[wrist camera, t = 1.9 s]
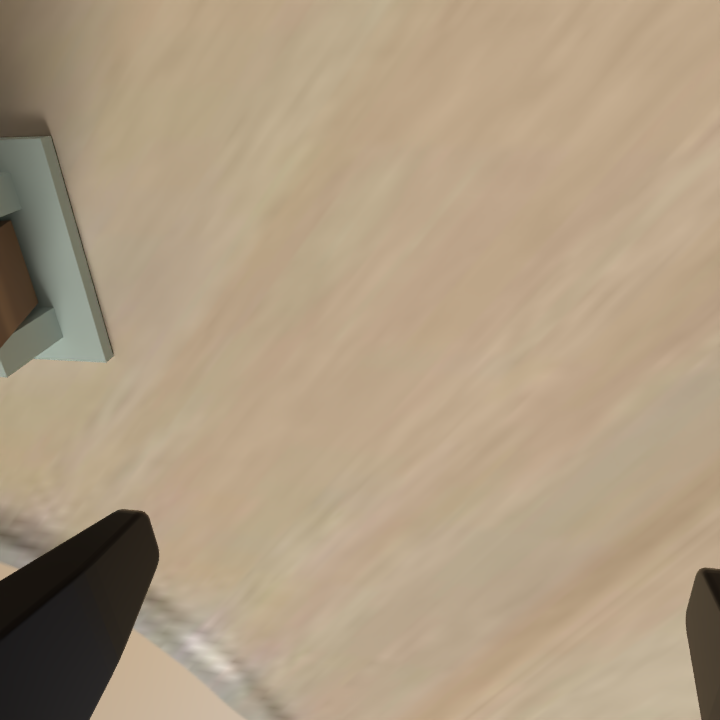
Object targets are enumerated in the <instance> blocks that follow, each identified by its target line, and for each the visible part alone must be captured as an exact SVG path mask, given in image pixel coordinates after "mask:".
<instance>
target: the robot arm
mask: <svg viewBox="0 0 720 720" xmlns="http://www.w3.org/2000/svg"><path fill="white" fill-rule="evenodd" d="M158 561H159V549H158V545H157V542H156V538H155V535H154V532H153V529H152V525H151V522H150V519H149V517H148V515H147V514H146V513H145V512H143V511H137V510H127V509H121V510H117V511H115V512H113V513H112V514H110V515H108V516H107V517H105V518H104V519H102V520H100V521H99V522H97V523H95V524H94V525H92V526H90V527H89V528H87V529H85V530H84V531H82V532H80V533H79V534H77V535H75V536H74V537H72V538H70V539H69V540H67V541H65V542H64V543H62V544H60V545H59V546H57V547H56V548H54V549H52V550H51V551H49V552H47V553H46V554H44V555H42V556H41V557H39V558H37V559H36V560H34V561H32V562H31V563H29V564H27V565H26V566H24V567H22V568H21V569H19V570H17V571H16V572H14V573H13V574H11V575H9V576H8V577H6V578H4V579H3V580H1V581H0V720H89V719H90V717H91V716H92V714H93V712H94V710H95V708H96V706H97V704H98V702H99V700H100V698H101V696H102V694H103V692H104V690H105V688H106V686H107V684H108V682H109V680H110V678H111V677H112V675H113V672H114V670H115V668H116V666H117V664H118V662H119V660H120V658H121V655H122V653H123V651H124V649H125V646H126V644H127V641H128V639H129V636H130V634H131V631H132V629H133V626H134V624H135V621H136V619H137V616H138V614H139V611H140V609H141V606H142V604H143V601H144V598H145V596H146V593H147V591H148V588H149V586H150V583H151V581H152V578H153V576H154V573H155V571H156V568H157V565H158ZM686 631H687V637H688V643H689V649H690V655H691V661H692V666H693V672H694V678H695V684H696V690H697V696H698V702H699V708H700V713H701V719H702V720H720V569H714V568H701V569H700V570H699V571H698V572H697V574H696V577H695V581H694V584H693V588H692V592H691V596H690V599H689V603H688V607H687V611H686Z"/></svg>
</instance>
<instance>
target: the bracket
mask: <svg viewBox="0 0 720 720" xmlns="http://www.w3.org/2000/svg"><path fill="white" fill-rule="evenodd" d="M4 220H11V222H12V225H13V228H14V231H15V234H16V237H17V240H18V243H19V246H20V249H21V252H22V255H23V258H24V261H25V264H26V267H27V270H28V273H29V276H30V279H31V282H32V285H33V288H34V291H35V294H36V297H37V300H38V304H37V305H36V306H35V307H34V309H33V310H32V311H31V312H30V313H29V315H28V316H27V317H26V318H25V319H24V321H23V322H22V323H21V324H20V325H19V327H18V328H17V329H16V330H15V331H14V333H13V334H12V335H11V336H10V337H9V339H8V340H7V341H6V342H5V343H4V345H3V346H2V347H1V348H0V377H8V376H10V375H11V374H13V373H14V372H15V371H17V370H18V369H20V368H21V367H22V366H24V365H25V364H27V363H28V362H29V361H31V360H32V359H48V360H67V361H86V362H105V363H106V362H107V361H109V360H110V359H111V358H112V357H113V353H112V349H111V346H110V342H109V339H108V335H107V332H106V328H105V325H104V321H103V318H102V314H101V311H100V307H99V304H98V300H97V297H96V293H95V290H94V286H93V283H92V279H91V276H90V272H89V269H88V265H87V262H86V258H85V255H84V251H83V247H82V244H81V240H80V237H79V233H78V230H77V226H76V223H75V219H74V216H73V212H72V209H71V205H70V202H69V198H68V195H67V191H66V188H65V184H64V181H63V177H62V174H61V170H60V167H59V163H58V160H57V156H56V153H55V149H54V145H53V142H52V138H51V136H32V137H4V138H0V221H4Z"/></svg>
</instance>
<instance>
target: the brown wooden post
mask: <svg viewBox="0 0 720 720" xmlns="http://www.w3.org/2000/svg"><path fill="white" fill-rule="evenodd" d="M37 304H38V300H37V297H36V294H35V291H34V288H33V285H32V282H31V279H30V276H29V273H28V270H27V267H26V264H25V261H24V258H23V255H22V252H21V249H20V246H19V243H18V240H17V237H16V234H15V231H14V228H13V225H12V222H11V220H4V221H0V348H1V347H2V346H3V345H4V343H5V342H6V341H7V340H8V339H9V337H10V336H11V335H12V334H13V333H14V331H15V330H16V329H17V328H18V327H19V325H20V324H21V323H22V322H23V321H24V319H25V318H26V317H27V316H28V315H29V313H30V312H31V311H32V310H33V309H34V307H35V306H36V305H37Z"/></svg>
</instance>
